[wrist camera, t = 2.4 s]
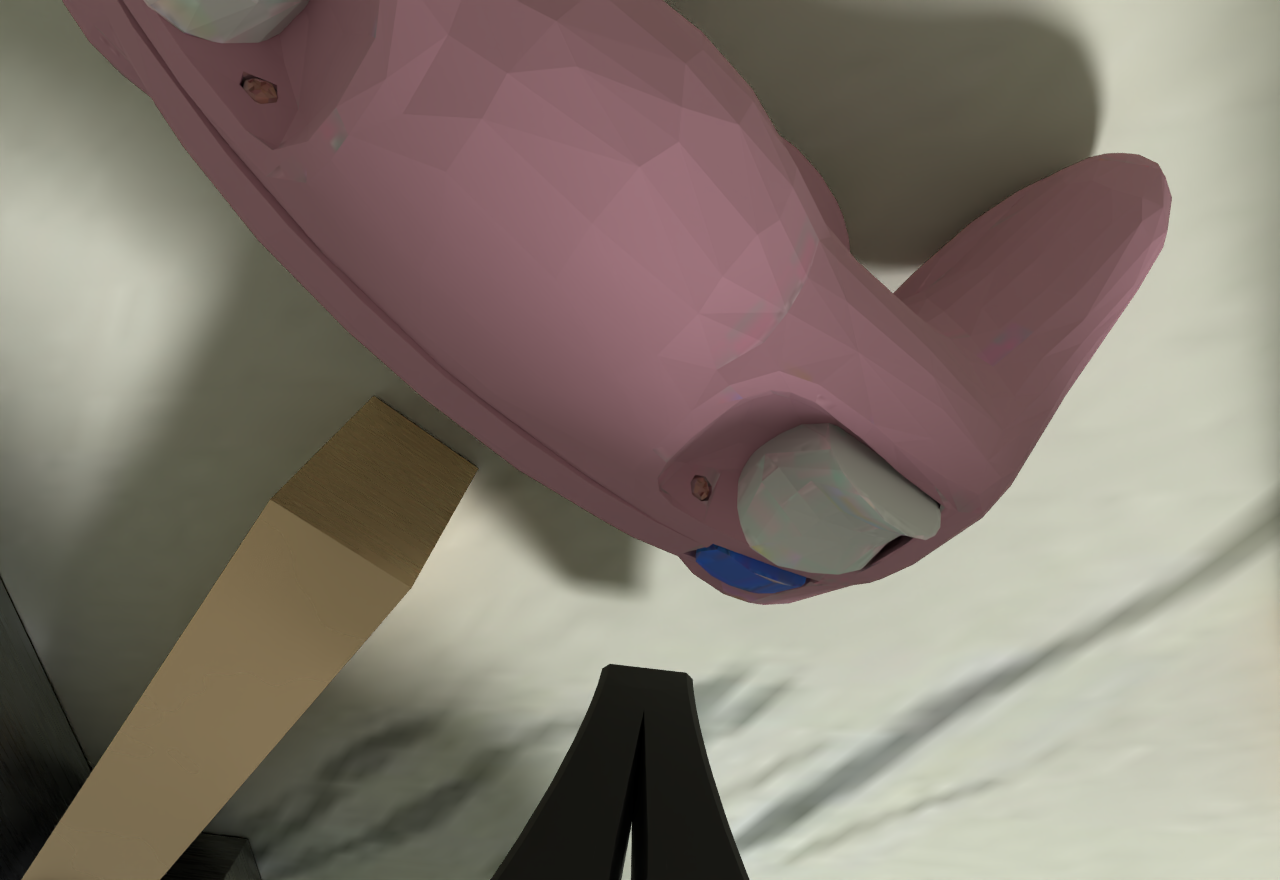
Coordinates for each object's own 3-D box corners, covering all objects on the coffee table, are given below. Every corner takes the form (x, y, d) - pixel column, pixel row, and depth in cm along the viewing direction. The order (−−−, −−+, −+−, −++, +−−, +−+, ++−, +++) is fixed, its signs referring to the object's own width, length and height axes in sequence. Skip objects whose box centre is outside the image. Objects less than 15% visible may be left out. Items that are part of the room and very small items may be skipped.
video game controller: (394, -178, 9) (-232, -13, 5) (580, -745, 6) (-1091, -2022, 1) (874, 346, 12) (753, 750, 7) (1193, 184, 8) (1307, 754, 4)
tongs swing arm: (178, 830, 17) (69, 988, 14) (101, 793, 17) (-29, 949, 14) (478, 468, 12) (399, 608, 9) (373, 395, 11) (251, 517, 8)
